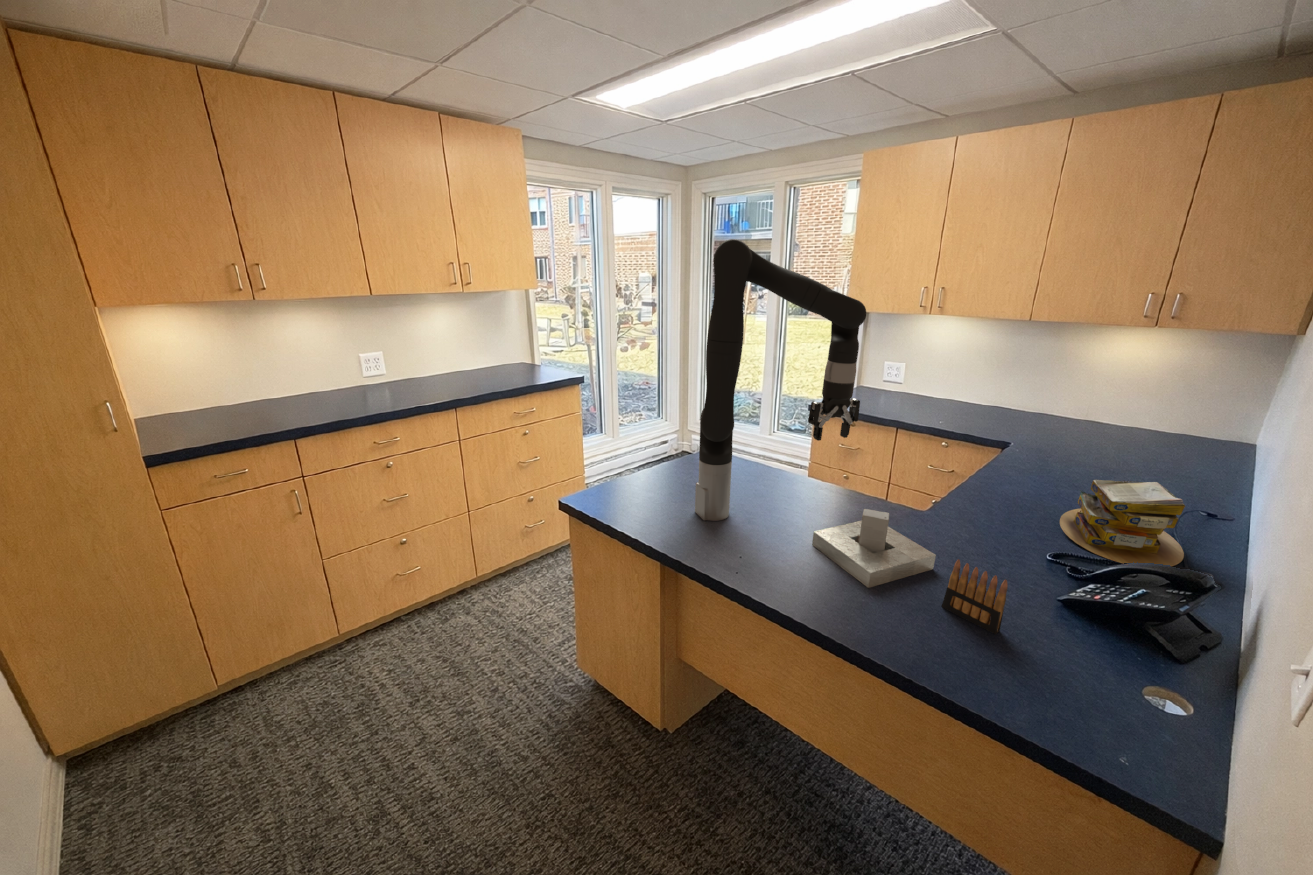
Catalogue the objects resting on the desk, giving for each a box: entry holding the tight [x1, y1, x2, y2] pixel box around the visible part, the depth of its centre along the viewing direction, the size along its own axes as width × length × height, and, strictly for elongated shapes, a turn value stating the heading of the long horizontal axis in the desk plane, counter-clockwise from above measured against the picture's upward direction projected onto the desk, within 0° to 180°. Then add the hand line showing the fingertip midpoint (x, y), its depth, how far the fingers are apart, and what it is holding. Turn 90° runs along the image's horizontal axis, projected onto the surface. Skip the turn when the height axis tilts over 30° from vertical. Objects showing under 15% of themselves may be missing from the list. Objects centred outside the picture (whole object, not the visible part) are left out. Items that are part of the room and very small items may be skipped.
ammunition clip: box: [941, 559, 1009, 635], centre depth 104 cm, size 11×2×12 cm, turn 36°
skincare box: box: [859, 508, 890, 554], centre depth 126 cm, size 6×4×12 cm
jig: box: [811, 520, 937, 589], centre depth 128 cm, size 20×20×4 cm
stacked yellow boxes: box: [1059, 479, 1186, 567], centre depth 132 cm, size 25×25×17 cm
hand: (830, 438), depth 136 cm, fingers open, 8 cm apart
